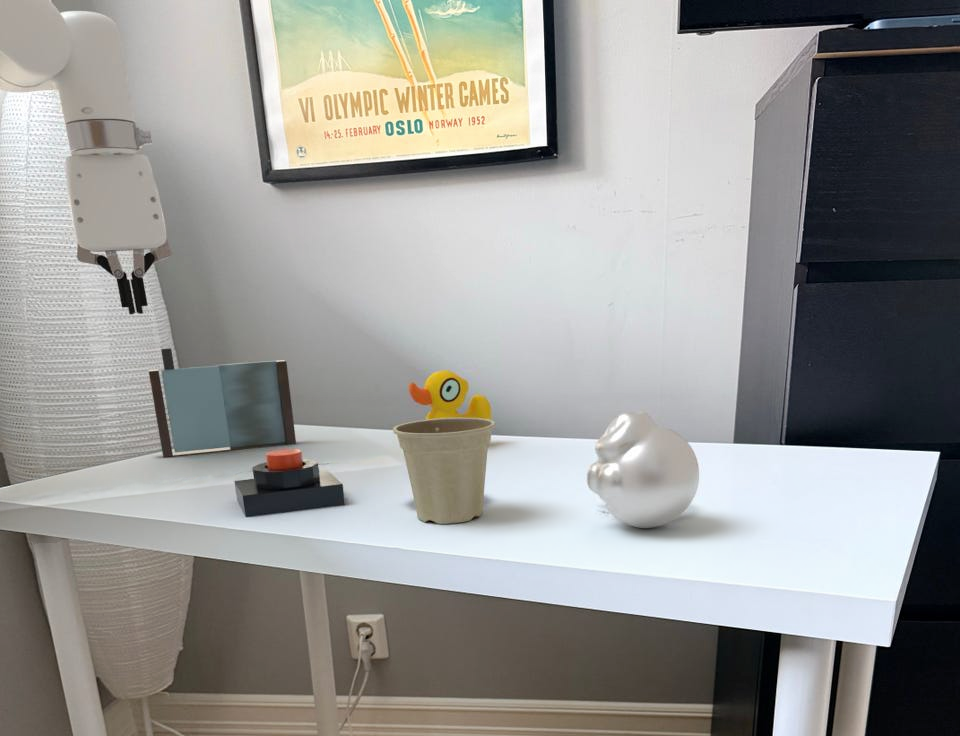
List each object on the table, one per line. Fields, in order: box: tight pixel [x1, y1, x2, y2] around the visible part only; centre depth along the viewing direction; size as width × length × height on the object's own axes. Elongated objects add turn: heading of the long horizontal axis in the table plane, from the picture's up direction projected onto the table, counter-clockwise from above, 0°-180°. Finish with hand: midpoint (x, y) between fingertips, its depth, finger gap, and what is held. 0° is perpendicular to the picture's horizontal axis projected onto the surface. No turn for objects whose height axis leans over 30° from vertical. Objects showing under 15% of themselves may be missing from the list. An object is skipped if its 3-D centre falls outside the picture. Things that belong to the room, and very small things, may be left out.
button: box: [265, 448, 303, 469], centre depth 95 cm, size 4×4×2 cm
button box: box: [233, 458, 346, 518], centre depth 96 cm, size 10×8×4 cm
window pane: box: [160, 347, 230, 453], centre depth 118 cm, size 7×1×13 cm, turn 110°
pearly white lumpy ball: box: [586, 411, 700, 529], centre depth 80 cm, size 9×10×10 cm
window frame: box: [148, 359, 297, 459], centre depth 120 cm, size 17×2×12 cm, turn 110°
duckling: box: [408, 369, 492, 420], centre depth 121 cm, size 11×5×10 cm, turn 119°
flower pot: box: [392, 418, 496, 525], centre depth 87 cm, size 9×9×9 cm
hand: (136, 313), depth 112 cm, fingers closed
